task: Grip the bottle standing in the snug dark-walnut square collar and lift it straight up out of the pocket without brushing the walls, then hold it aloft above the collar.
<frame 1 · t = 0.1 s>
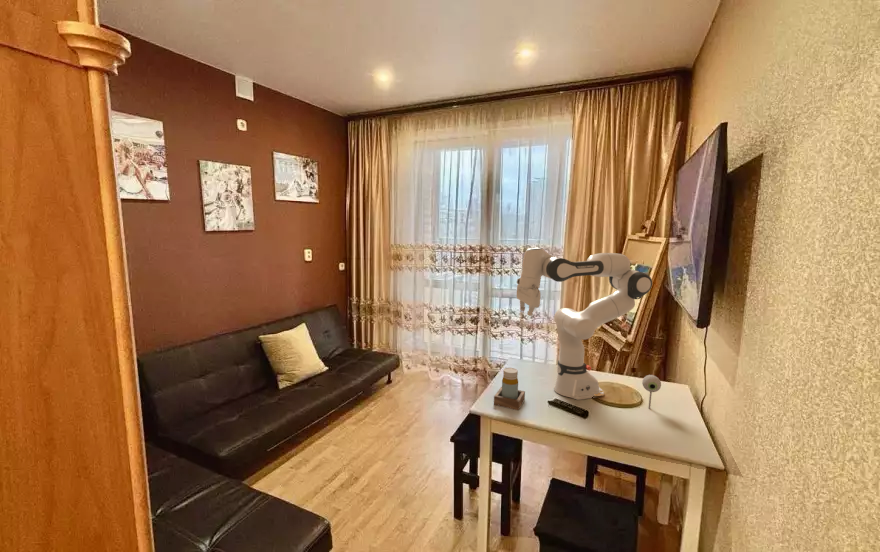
hand: (525, 312, 173), 39 cm above the table, tool pointing down, fingers open, 8 cm apart
bottle: (509, 402, 170), resting in pocket
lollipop: (649, 408, 165), on the table
pocket: (509, 402, 170), on the table
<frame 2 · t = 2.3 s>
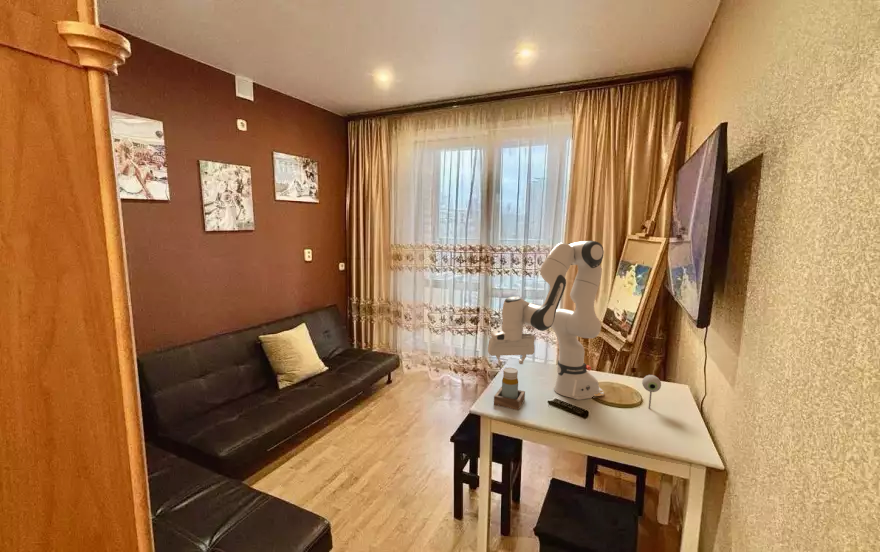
hand: (510, 364, 167), 18 cm above the table, tool pointing down, fingers open, 8 cm apart
nothing on the table moved.
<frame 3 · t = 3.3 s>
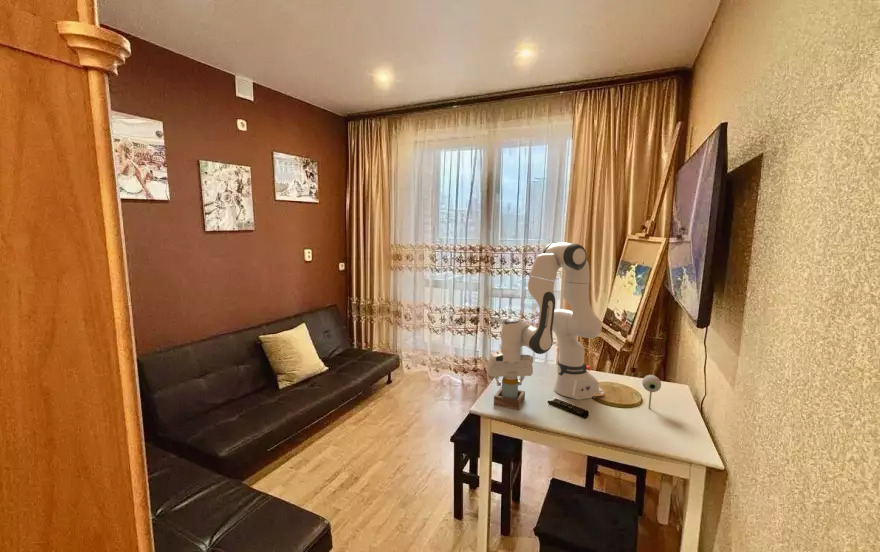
hand: (509, 385, 169), 8 cm above the table, tool pointing down, fingers open, 8 cm apart
nothing on the table moved.
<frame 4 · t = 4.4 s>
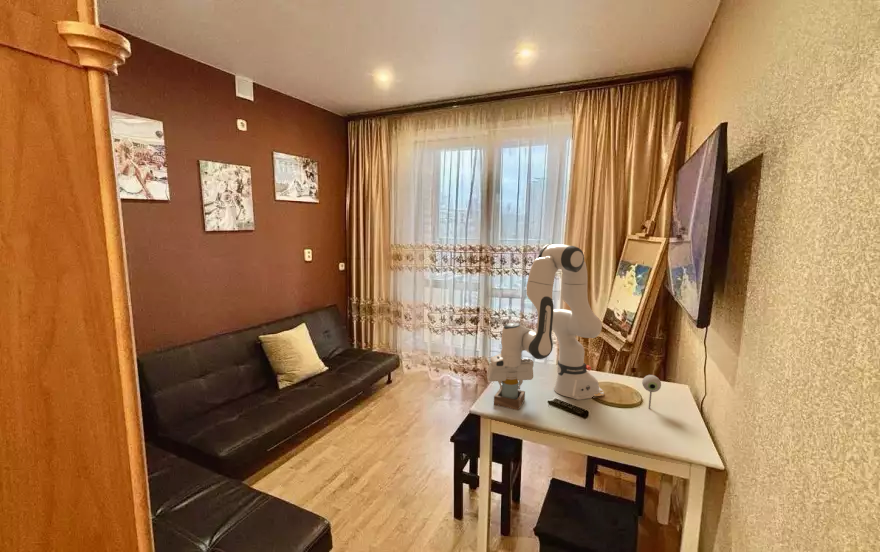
hand: (509, 389, 169), 6 cm above the table, tool pointing down, fingers closed on bottle, 6 cm apart
bottle: (509, 402, 170), resting in pocket, touching gripper
everything else where it was.
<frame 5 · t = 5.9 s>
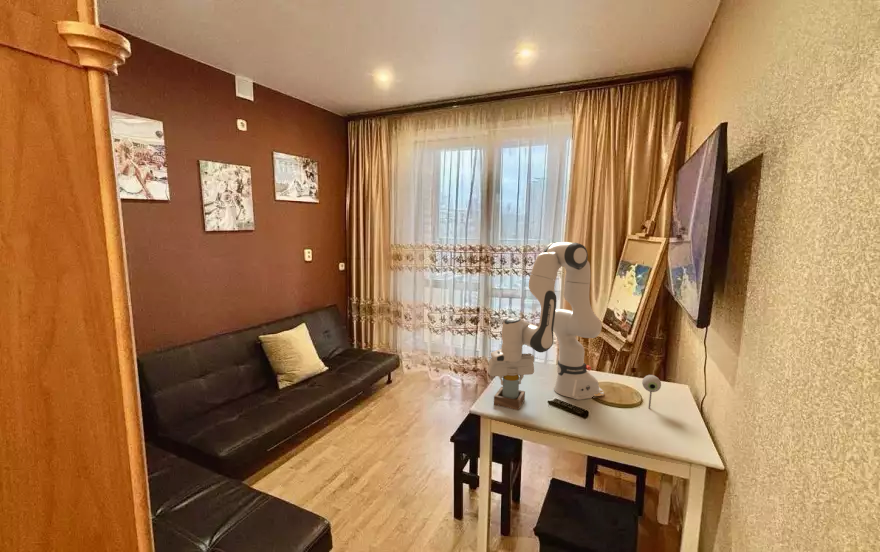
hand: (510, 384, 169), 8 cm above the table, tool pointing down, fingers closed on bottle, 6 cm apart
bottle: (510, 398, 170), point 2 cm above the table, touching gripper
everything else where it was.
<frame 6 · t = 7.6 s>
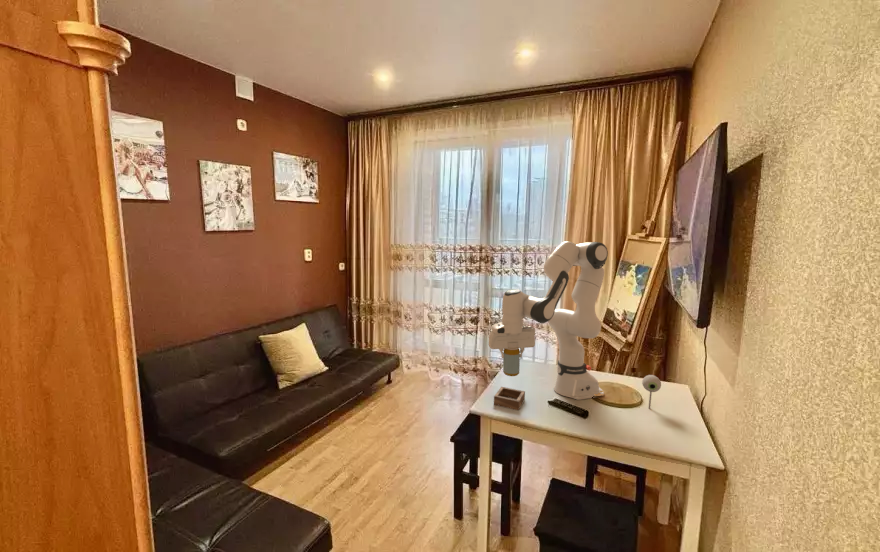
hand: (511, 357, 167), 21 cm above the table, tool pointing down, fingers closed on bottle, 6 cm apart
bottle: (511, 373, 168), point 13 cm above the table, touching gripper
everything else where it was.
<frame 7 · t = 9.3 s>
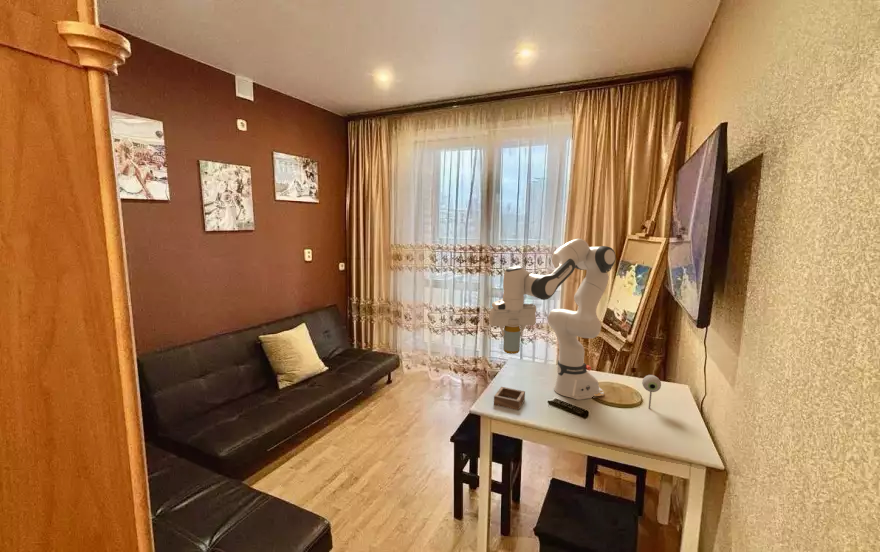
hand: (511, 335, 166), 31 cm above the table, tool pointing down, fingers closed on bottle, 6 cm apart
bottle: (511, 352, 167), point 23 cm above the table, touching gripper
everything else where it was.
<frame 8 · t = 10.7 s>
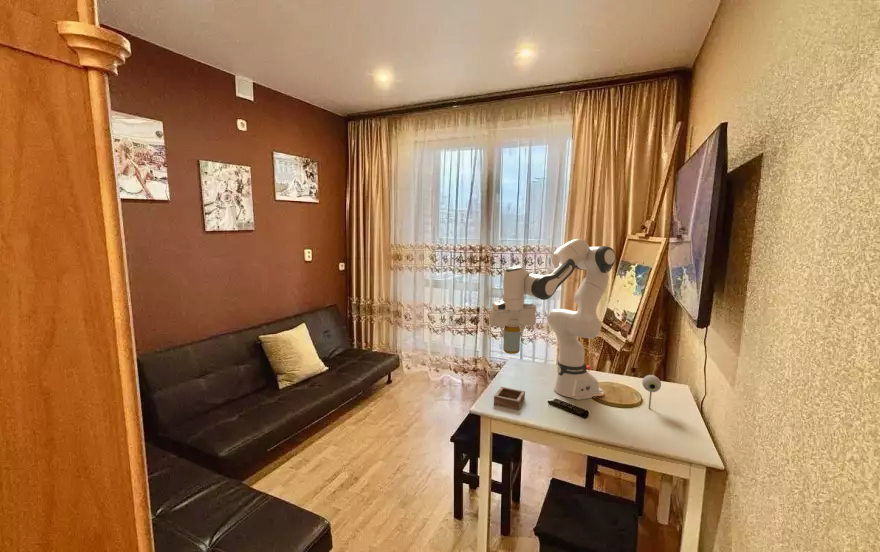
hand: (511, 335, 166), 31 cm above the table, tool pointing down, fingers closed on bottle, 6 cm apart
bottle: (511, 352, 167), point 23 cm above the table, touching gripper
everything else where it was.
at the end: bottle point 23.4 cm above the table; bottle inside the target area on the pocket (0.1 cm from its centre), point 23.4 cm above the pocket's base; bottle tilted 0° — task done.
